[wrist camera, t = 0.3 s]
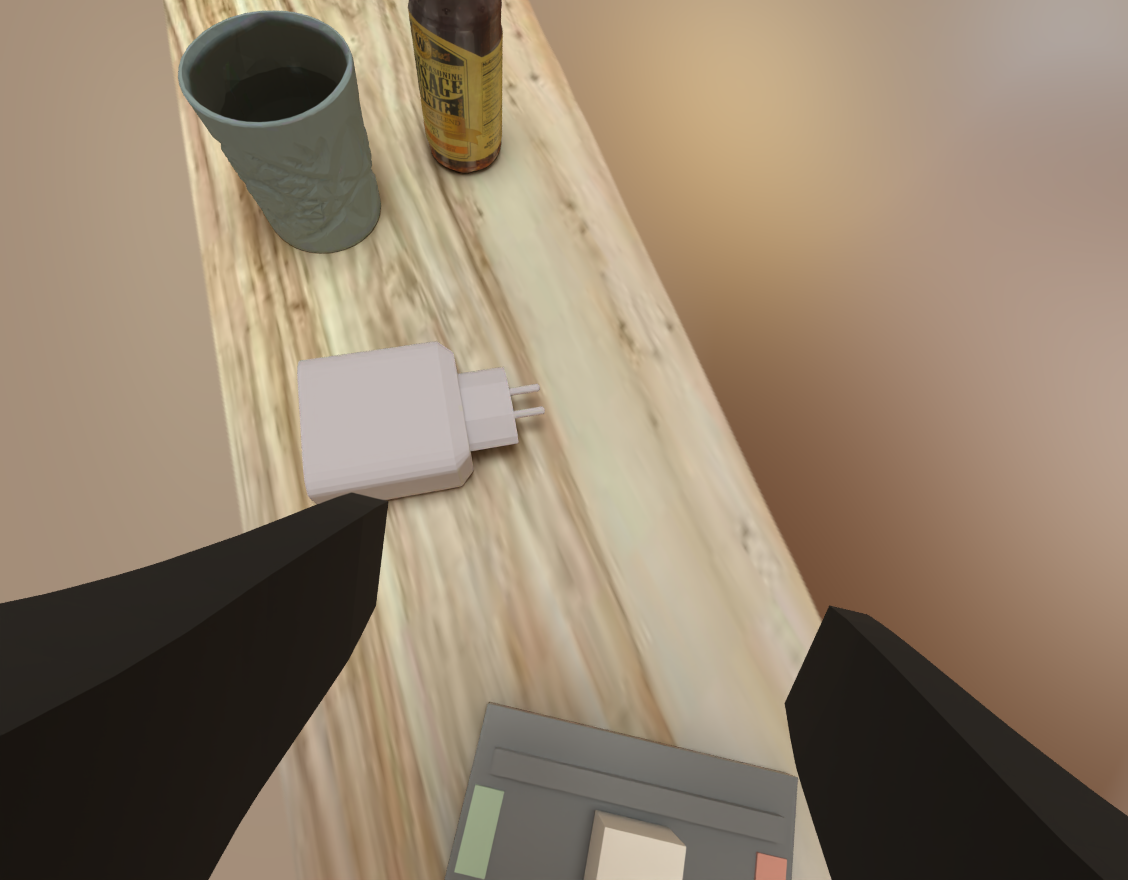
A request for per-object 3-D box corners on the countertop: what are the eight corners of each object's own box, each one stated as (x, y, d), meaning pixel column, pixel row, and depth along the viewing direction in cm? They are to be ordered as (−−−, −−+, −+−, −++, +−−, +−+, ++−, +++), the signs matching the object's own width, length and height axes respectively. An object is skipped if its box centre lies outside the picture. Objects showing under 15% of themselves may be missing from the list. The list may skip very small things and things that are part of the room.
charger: (553, 473, 40) (328, 514, 38) (528, 356, 43) (318, 388, 41) (558, 450, 36) (303, 494, 34) (529, 321, 39) (295, 355, 37)
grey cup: (275, 274, 44) (193, 141, 33) (246, 176, 47) (162, 23, 36) (407, 239, 46) (372, 103, 35) (371, 147, 49) (328, -6, 38)
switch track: (768, 1033, 30) (789, 1064, 28) (427, 950, 30) (420, 974, 28) (786, 773, 34) (805, 780, 32) (488, 701, 34) (487, 704, 32)
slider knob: (655, 926, 30) (672, 959, 26) (578, 907, 30) (586, 938, 26) (668, 827, 31) (686, 846, 28) (595, 809, 31) (605, 826, 28)
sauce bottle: (413, 144, 49) (352, -167, 31) (472, 112, 51) (447, -200, 33) (462, 192, 48) (428, -104, 29) (520, 157, 50) (522, -142, 31)
